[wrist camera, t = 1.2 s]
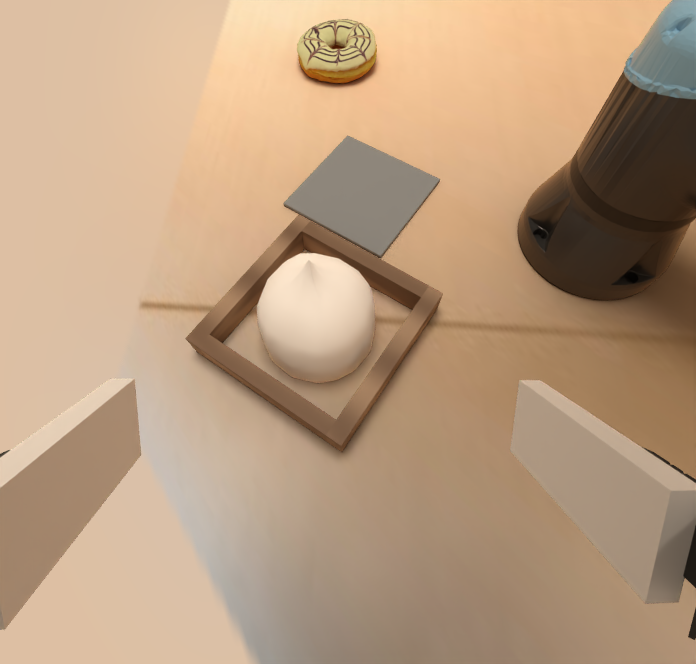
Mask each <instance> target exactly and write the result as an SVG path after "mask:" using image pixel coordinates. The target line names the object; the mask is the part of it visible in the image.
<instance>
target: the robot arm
mask: <svg viewBox="0 0 696 664" xmlns="http://www.w3.org/2000/svg"><path fill="white" fill-rule="evenodd" d="M695 218H696V0H672V1H671V2H670V3H669V4H668V5H667V6H666V7H665V8H664V10H663V11H662V12H661V14H660V15H659V16H658V18H657V19H656V21H655V22H654V24H653V25H652V27H651V28H650V30H649V31H648V33H647V34H646V36H645V37H644V39H643V40H642V42H641V43H640V45H639V46H638V48H636V49H635V50H634V51H633V52H632V54H631V55H630V56H629V58H628V59H627V61H626V66H625V68H624V71H623V73H622V75H621V76H620V78H619V80H618V82H617V83H616V85H615V87H614V88H613V90H612V92H611V93H610V95H609V97H608V99H607V100H606V102H605V104H604V105H603V107H602V109H601V111H600V112H599V114H598V116H597V117H596V119H595V121H594V123H593V124H592V126H591V128H590V129H589V131H588V133H587V135H586V136H585V138H584V140H583V141H582V143H581V145H580V147H579V148H578V150H577V152H576V154H575V155H574V157H573V158H572V159H571V160H570V161H569V162H568V163H567V164H566V165H564V166H563V167H562V168H561V169H560V170H558V171H557V172H556V173H555V174H554V175H553V176H551V177H550V178H549V179H548V180H547V181H545V182H544V183H543V184H542V185H541V186H540V187H539V188H537V190H536V191H535V192H534V193H533V194H532V196H531V197H530V199H529V200H528V202H527V204H526V206H525V208H524V210H523V212H522V214H521V216H520V219H519V223H518V237H519V242H520V245H521V248H522V250H523V253H524V254H525V256H526V258H527V259H528V261H529V262H530V264H531V265H532V266H533V267H534V268H535V270H536V271H537V272H538V273H540V274H541V275H542V276H543V277H544V278H545V279H547V280H548V281H549V282H551V283H552V284H554V285H556V286H557V287H559V288H561V289H563V290H565V291H567V292H570V293H572V294H575V295H578V296H581V297H585V298H590V299H597V300H615V299H622V298H626V297H630V296H632V295H635V294H637V293H639V292H641V291H643V290H644V289H645V288H647V287H648V286H649V285H650V284H652V283H653V282H654V281H655V280H656V279H657V278H659V277H660V276H661V275H662V274H663V273H664V272H665V270H666V269H667V268H668V267H669V265H670V264H671V262H672V260H673V258H674V256H675V254H676V252H677V250H678V248H679V246H680V244H681V241H682V239H683V237H684V235H685V233H686V231H687V229H688V227H689V225H690V223H691V222H692V221H693V220H694V219H695ZM510 451H511V452H512V454H513V455H514V456H515V457H516V458H517V459H518V460H519V461H520V463H521V464H522V465H523V466H524V467H525V468H526V469H527V470H528V472H529V473H530V474H531V475H532V476H533V477H534V478H535V480H536V481H537V482H538V483H539V484H540V485H541V486H542V487H543V489H544V490H545V491H546V492H547V493H548V494H549V495H550V496H551V498H552V499H553V500H554V501H555V502H556V503H557V504H558V505H559V507H560V508H561V509H562V510H563V511H564V512H565V513H566V515H567V516H568V517H569V518H570V519H571V520H572V521H573V522H574V524H575V525H576V526H577V527H578V528H579V529H580V530H581V531H582V533H583V534H584V535H585V536H586V537H587V538H588V539H589V540H590V542H591V543H592V544H593V545H594V546H595V547H596V548H597V550H598V551H599V552H600V553H601V554H602V555H603V556H604V557H605V559H606V560H607V561H608V562H609V563H610V564H611V565H612V566H613V568H614V569H615V570H616V571H617V572H618V573H619V574H620V575H621V577H622V578H623V579H624V580H625V581H626V582H627V583H628V585H629V586H630V587H631V588H632V589H633V590H634V591H635V592H636V594H637V595H638V596H639V597H640V598H641V599H642V600H643V601H644V603H645V604H649V603H674V602H679V598H680V594H681V590H682V586H683V582H684V578H686V579H687V580H688V581H689V582H690V583H691V584H692V585H693V586H694V587H695V588H696V480H695V479H694V478H692V477H691V476H689V475H688V474H684V473H683V471H682V470H680V469H679V468H677V467H676V466H674V465H670V463H669V462H668V461H666V460H665V459H663V458H662V457H660V456H659V455H657V454H656V453H654V452H652V451H650V450H647V449H645V448H643V447H641V446H639V445H637V444H636V443H634V442H633V441H631V440H630V439H628V438H627V437H625V436H624V435H622V434H621V433H619V432H618V431H616V430H615V429H613V428H612V427H610V426H609V425H607V424H606V423H604V422H603V421H601V420H600V419H598V418H597V417H595V416H594V415H592V414H591V413H589V412H588V411H586V410H585V409H583V408H582V407H580V406H579V405H577V404H576V403H574V402H572V401H571V400H569V399H568V398H566V397H565V396H563V395H562V394H560V393H559V392H557V391H556V390H554V389H553V388H551V387H550V386H548V385H547V384H545V383H544V382H542V381H541V380H519V386H518V394H517V402H516V410H515V418H514V425H513V433H512V441H511V449H510ZM140 456H141V447H140V435H139V424H138V413H137V401H136V390H135V379H109V380H108V381H106V382H105V383H104V384H102V385H101V386H99V387H98V388H97V389H95V390H94V391H92V392H91V393H90V394H88V395H87V396H85V397H84V398H83V399H81V400H80V401H78V402H77V403H76V404H74V405H73V406H72V407H70V408H69V409H67V410H66V411H65V412H63V413H62V414H60V415H59V416H58V417H56V418H55V419H53V420H52V421H51V422H49V423H48V424H46V425H45V426H44V427H42V428H41V429H39V430H38V431H37V432H35V433H34V434H32V435H31V436H30V437H28V438H27V439H26V440H24V441H23V442H21V443H20V444H19V445H17V446H16V447H14V448H13V449H12V450H8V451H6V452H3V453H2V454H0V630H1V629H6V627H7V626H8V625H9V623H10V622H11V621H12V619H13V618H14V617H15V616H16V615H17V613H18V612H19V611H20V609H21V608H22V607H23V606H24V604H25V603H26V602H27V600H28V599H29V598H30V597H31V595H32V594H33V593H34V591H35V590H36V589H37V588H38V586H39V585H40V584H41V582H42V581H43V580H44V579H45V577H46V576H47V575H48V574H49V572H50V571H51V570H52V568H53V567H54V566H55V565H56V563H57V562H58V561H59V559H60V558H61V557H62V555H63V554H64V553H65V552H66V550H67V549H68V548H69V547H70V545H71V544H72V543H73V541H74V540H75V539H76V538H77V536H78V535H79V534H80V533H81V531H82V530H83V529H84V527H85V526H86V525H87V523H88V522H89V521H90V520H91V518H92V517H93V516H94V514H95V513H96V512H97V511H98V509H99V508H100V507H101V506H102V504H103V503H104V502H105V501H106V499H107V498H108V497H109V495H110V494H111V493H112V492H113V490H114V489H115V488H116V486H117V485H118V484H119V483H120V481H121V480H122V479H123V477H124V476H125V475H126V474H127V472H128V471H129V470H130V468H131V467H132V466H133V464H134V463H135V462H136V461H137V459H138V458H139V457H140ZM688 637H689V638H692V639H694V640H695V638H696V609H695V613H694V617H693V621H692V624H691V628H690V632H689V636H688Z"/></svg>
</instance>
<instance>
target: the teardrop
mask: <svg viewBox="0 0 696 664" xmlns="http://www.w3.org/2000/svg"><path fill="white" fill-rule="evenodd" d="M257 320H258V327H259V330H260V333H261V336H262V339H263V342H264V345H265V348H266V350H267V352H268V354H269V356H270V358H271V360H272V362H274V363H275V364H276V365H277V366H278V367H280V368H281V369H282V370H283V371H285V372H286V373H287V374H288V375H289V376H291V377H292V378H297V379H301V380H306V381H310V382H315V383H322V382H329V381H335V380H338V379H340V378H342V377H344V376H346V375H348V374H350V373H352V372H354V371H355V369H356V368H357V367H358V366H359V365H360V364H361V362H362V361H363V360H364V359H365V358H366V357H367V356H368V354H369V353H370V351H371V347H372V342H373V338H374V333H375V305H374V299H373V294H372V289H371V288H370V286H369V284H368V282H367V281H366V280H365V279H364V277H363V276H362V275H361V274H360V272H359V271H358V270H356V269H355V268H353V267H351V266H350V265H348V264H347V263H345V262H343V261H342V260H340V259H338V258H334V257H330V256H325V255H321V254H316V253H301V254H298V255H296V256H294V257H292V258H290V259H288V260H287V261H285V262H284V263H283V264H282V265H281V266H280V267H279V268H278V269H277V270H276V271H275V272H274V273H273V274H272V275H271V276H270V277H269V278H268V280H267V282H266V284H265V287H264V289H263V292H262V294H261V297H260V299H259V302H258V305H257Z"/></svg>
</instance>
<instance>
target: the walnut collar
mask: <svg viewBox="0 0 696 664" xmlns="http://www.w3.org/2000/svg"><path fill="white" fill-rule="evenodd" d="M304 249H306V250H308V251H310V252H311V253H316V254H321V255H325V256H330V257H334V258H338V259H340V260H342V261H343V262H345V263H347V264H348V265H350V266H351V267H353V268H355V269H356V270H358V271H359V272H360V274H361V275H362V276H363V277H364V279H365V280H366V281H367V282H368V284H369V285H370V286H371V287H373V288H375V289H377V290H378V291H380V292H382V293H384V294H386V295H387V296H389V297H391V298H393V299H394V300H396V301H398V302H400V303H401V304H403V305H405V306H407V307H408V308H410V309H412V311H411V313H410V314H409V316H408V317H407V319H406V320H405V321H404V323H403V324H402V326H401V327H400V329H399V330H398V332H397V333H396V334H395V336H394V337H393V339H392V340H391V342H390V343H389V345H388V346H387V347H386V349H385V350H384V352H383V353H382V355H381V356H380V358H379V359H378V360H377V362H376V363H375V365H374V366H373V368H372V369H371V371H370V372H369V374H368V375H367V376H366V378H365V379H364V381H363V382H362V384H361V385H360V387H359V388H358V389H357V391H356V392H355V394H354V395H353V397H352V398H351V400H350V401H349V402H348V404H347V405H346V407H345V408H344V410H343V411H342V413H341V414H340V415H339V417H338V418H337V420H336V419H334V418H333V417H331V416H330V415H328V414H327V413H325V412H324V411H322V410H321V409H319V408H318V407H316V406H315V405H313V404H312V403H310V402H309V401H307V400H306V399H304V398H303V397H301V396H300V395H298V394H297V393H296V392H294V391H293V390H291V389H290V388H288V387H287V386H285V385H284V384H282V383H281V382H279V381H278V380H276V379H275V378H273V377H272V376H270V375H269V374H267V373H266V372H264V371H263V370H261V369H260V368H258V367H257V366H255V365H254V364H252V363H251V362H250V361H248V360H247V359H245V358H244V357H242V356H241V355H239V354H238V353H236V352H235V351H233V350H232V349H230V348H229V347H227V346H226V345H224V344H223V342H224V340H225V339H226V338H227V337H228V336H229V335H230V334H231V332H232V331H233V330H234V329H235V328H236V327H237V326H238V324H239V323H240V322H241V321H242V320H243V319H244V317H245V316H246V315H247V314H248V313H249V312H250V311H251V309H252V308H253V307H254V306H255V305H256V304H257V303H258V301H259V299H260V297H261V294H262V292H263V289H264V287H265V284H266V282H267V280H268V278H269V277H270V276H271V275H272V274H273V273H274V272H275V271H276V270H277V269H278V268H279V267H280V266H281V265H282V264H283V263H284V262H285V261H287V260H288V259H290V258H292V257H294V256H296V255H298V254H300V253H301V252H302V251H303V250H304ZM442 295H443V293H441V292H439V291H438V290H436V289H434V288H432V287H430V286H428V285H427V284H425V283H423V282H421V281H419V280H417V279H416V278H414V277H412V276H410V275H408V274H406V273H405V272H403V271H401V270H399V269H397V268H395V267H394V266H392V265H390V264H388V263H386V262H384V261H383V260H381V259H379V258H377V257H375V256H373V255H372V254H370V253H368V252H366V251H364V250H362V249H361V248H359V247H357V246H355V245H353V244H351V243H350V242H348V241H346V240H344V239H342V238H340V237H339V236H337V235H335V234H333V233H331V232H329V231H328V230H326V229H324V228H322V227H320V226H318V225H317V224H315V223H313V222H311V221H309V220H307V219H306V218H304V217H302V216H300V215H298V216H297V217H296V218H295V219H294V220H293V221H292V223H291V224H290V225H289V226H288V227H287V228H286V229H285V230H284V231H283V232H282V233H281V235H280V236H279V237H278V238H277V239H276V240H275V241H274V242H273V243H272V244H271V246H270V247H269V248H268V249H267V250H266V251H265V252H264V253H263V254H262V255H261V256H260V258H259V259H258V260H257V261H256V262H255V263H254V264H253V265H252V266H251V267H250V268H249V270H248V271H247V272H246V273H245V274H244V275H243V276H242V277H241V278H240V279H239V280H238V282H237V283H236V284H235V285H234V286H233V287H232V288H231V289H230V290H229V291H228V292H227V294H226V295H225V296H224V297H223V298H222V299H221V300H220V301H219V302H218V303H217V305H216V306H215V307H214V308H213V309H212V310H211V311H210V312H209V313H208V314H207V315H206V317H205V318H204V319H203V320H202V321H201V322H200V323H199V324H198V325H197V326H196V327H195V329H194V330H193V331H192V332H191V333H190V334H189V335H188V336H187V337H186V340H187V341H188V342H189V343H190V344H191V346H192V347H193V348H194V349H195V350H196V351H197V352H198V353H200V354H201V355H202V356H204V357H205V358H207V359H208V360H210V361H211V362H213V363H214V364H215V365H217V366H218V367H220V368H221V369H223V370H224V371H226V372H227V373H228V374H230V375H231V376H233V377H234V378H236V379H237V380H239V381H240V382H241V383H243V384H244V385H246V386H247V387H249V388H250V389H252V390H253V391H254V392H256V393H257V394H259V395H260V396H262V397H263V398H265V399H266V400H267V401H269V402H270V403H272V404H273V405H275V406H276V407H277V408H279V409H280V410H282V411H283V412H285V413H286V414H288V415H289V416H290V417H292V418H293V419H295V420H296V421H298V422H299V423H301V424H302V425H303V426H305V427H306V428H308V429H309V430H311V431H312V432H314V433H315V434H316V435H318V436H319V437H321V438H322V439H324V440H325V441H327V442H328V443H329V444H331V445H332V446H334V447H335V448H337V449H338V450H339V451H341V452H342V451H343V450H344V448H345V447H346V445H347V444H348V442H349V441H350V439H351V438H352V436H353V435H354V433H355V432H356V430H357V429H358V427H359V426H360V424H361V423H362V421H363V420H364V418H365V417H366V415H367V413H368V412H369V410H370V409H371V407H372V406H373V404H374V403H375V401H376V400H377V398H378V397H379V395H380V394H381V392H382V391H383V389H384V388H385V386H386V385H387V383H388V382H389V380H390V379H391V377H392V376H393V374H394V373H395V371H396V370H397V368H398V367H399V365H400V364H401V362H402V361H403V359H404V358H405V356H406V355H407V353H408V352H409V350H410V349H411V347H412V346H413V344H414V343H415V341H416V340H417V338H418V337H419V335H420V334H421V332H422V331H423V329H424V328H425V326H426V325H427V323H428V322H429V320H430V319H431V317H432V316H433V314H434V313H435V311H436V310H437V308H438V305H439V303H440V300H441V297H442Z"/></svg>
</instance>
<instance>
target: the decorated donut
mask: <svg viewBox="0 0 696 664" xmlns="http://www.w3.org/2000/svg"><path fill="white" fill-rule="evenodd" d="M376 46H377V45H376V42H375V36H374V34H373V32H372V30H371V29H370V28H368V27H366V26H365V25H363V24H362V23H358V22H356V21H352V20H348V19H342V20H331V21H327V22H324V23H321V24H318V25H316V26H314V27H312V28H311V29H309V30H308V31H307V32H306V33H305V34H304V35H302V37H301V38H300V40H299V42H298V44H297V52H298V56H299V62H300V65H301V68H302V69H303V70H304V72H305V73H306V74H307V75H308V76H309V77H311V78H314V79H318V80H319V81H327V82H330V83H347V82H351V81H354V80H356V79H358V78H360V77H362V76H363V75H364V74H366V73H367V72H368V71H369V70H370V69H371V67H372V66H373V64H374V62H375V60H376V52H377V48H376Z"/></svg>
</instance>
